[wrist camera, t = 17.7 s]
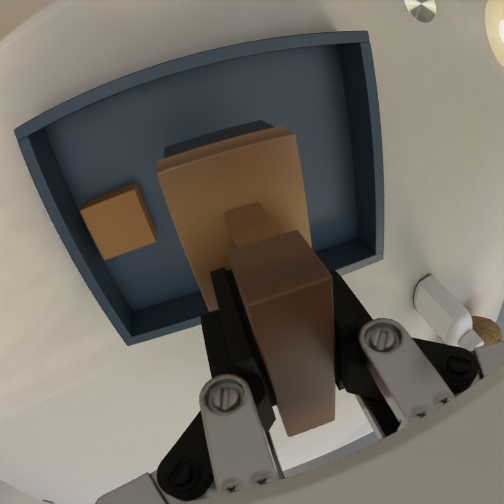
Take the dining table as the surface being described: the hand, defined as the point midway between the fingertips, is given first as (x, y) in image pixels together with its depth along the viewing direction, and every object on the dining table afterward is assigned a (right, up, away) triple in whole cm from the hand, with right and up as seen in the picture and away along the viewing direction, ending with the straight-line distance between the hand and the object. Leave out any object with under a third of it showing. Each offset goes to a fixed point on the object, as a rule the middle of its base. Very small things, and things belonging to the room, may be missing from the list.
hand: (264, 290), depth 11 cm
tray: (-3, +6, +11) cm, 13 cm away
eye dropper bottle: (+20, -3, +24) cm, 32 cm away
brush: (-1, +2, +3) cm, 4 cm away
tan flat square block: (-10, +4, +9) cm, 14 cm away
